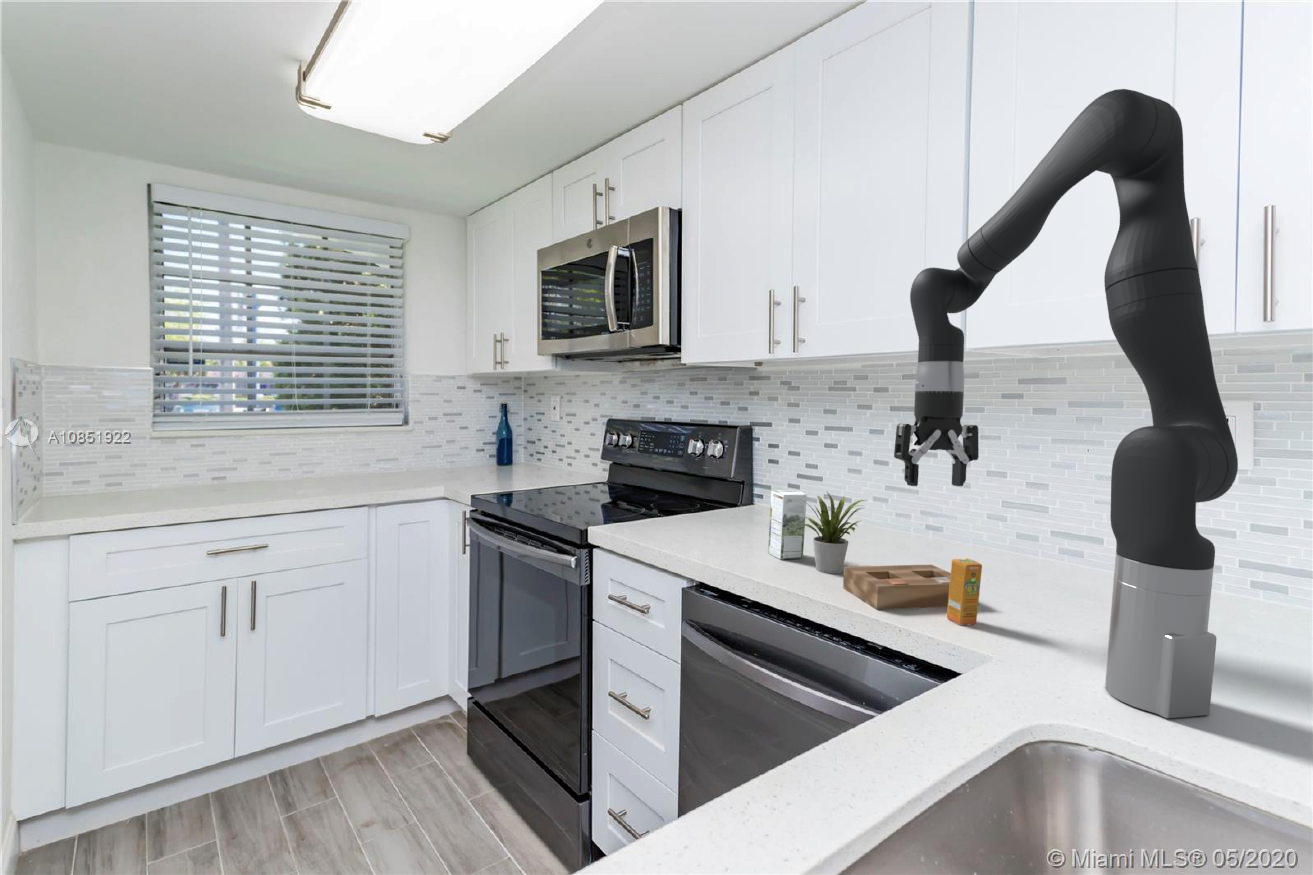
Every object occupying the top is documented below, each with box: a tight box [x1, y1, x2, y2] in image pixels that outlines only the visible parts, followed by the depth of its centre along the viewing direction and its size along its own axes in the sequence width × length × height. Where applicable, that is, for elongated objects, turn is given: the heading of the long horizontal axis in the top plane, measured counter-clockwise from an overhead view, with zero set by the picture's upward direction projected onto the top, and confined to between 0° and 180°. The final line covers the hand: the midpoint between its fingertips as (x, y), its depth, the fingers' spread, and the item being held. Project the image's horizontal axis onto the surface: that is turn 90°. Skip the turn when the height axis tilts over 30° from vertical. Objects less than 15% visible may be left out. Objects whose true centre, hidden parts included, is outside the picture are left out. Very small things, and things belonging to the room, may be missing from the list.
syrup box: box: [767, 489, 807, 561], centre depth 142 cm, size 6×6×14 cm
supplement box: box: [946, 558, 983, 626], centre depth 103 cm, size 3×3×10 cm
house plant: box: [800, 491, 867, 574], centre depth 131 cm, size 14×14×16 cm
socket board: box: [842, 564, 951, 611], centre depth 116 cm, size 12×18×4 cm, turn 101°
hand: (935, 485), depth 109 cm, fingers open, 8 cm apart
